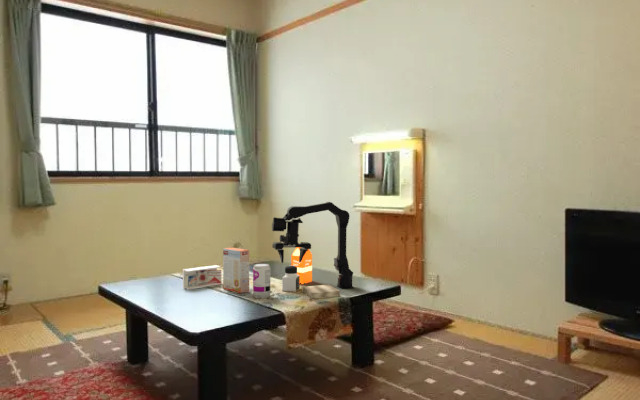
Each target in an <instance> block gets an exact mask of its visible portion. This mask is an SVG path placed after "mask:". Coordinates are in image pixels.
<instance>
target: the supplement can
mask: <svg viewBox="0 0 640 400" xmlns="http://www.w3.org/2000/svg"><path fill="white" fill-rule="evenodd" d="M252 285H253V286H252V296H253V297H254V298H256V299H267V298H269V297H270V296H271V266H270V264H268V263H256V264H253V268H252Z"/></svg>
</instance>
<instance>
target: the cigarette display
mask: <svg viewBox="0 0 640 400" xmlns="http://www.w3.org/2000/svg"><path fill="white" fill-rule="evenodd" d="M220 268H222V267H221V265H216V264H215V265H208V266H198V267H191V268H182V287H183V289H184V288H185V289H187V290H192V289H193V290H194V289H198V288H203V287H204V288H205V287H212V286H217V285H218V286H219V285H221V284H222V270H221V269H220Z"/></svg>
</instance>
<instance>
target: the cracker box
mask: <svg viewBox="0 0 640 400" xmlns="http://www.w3.org/2000/svg"><path fill="white" fill-rule="evenodd" d="M222 250H223V251H222V256H223V257H222V258H223V262H222V263H223V265H222V266H223V267H222V270H223V274H222V275H223V282H222V283H223V285H222V286H223V288H222V289H223V290H226V291H230V292H234V293H237V294H244V293H249V292H250V250H249V249H243V248H239V247H238V248H237V247H231V246H230V247H224V248H223V249H222Z"/></svg>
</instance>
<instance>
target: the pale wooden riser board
mask: <svg viewBox="0 0 640 400" xmlns="http://www.w3.org/2000/svg"><path fill="white" fill-rule="evenodd" d="M301 291H302V293H303V292H304V294H305V295H306V294H307V295H306V296H307V297H309V296H310V297H309V298H310V299H321V297H323V298H332V297H333V296H334V297H340V295H341V293H340V290H339V289H338V288H336V287H334V286H332V285H331V284H321V285H320V284H319V285H309V286H302V290H301Z"/></svg>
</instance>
